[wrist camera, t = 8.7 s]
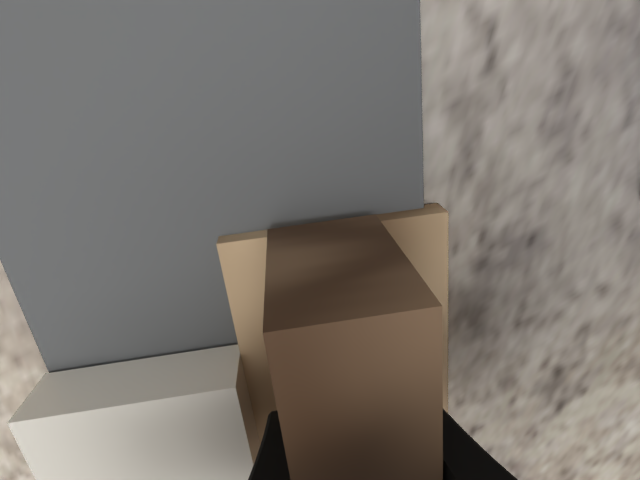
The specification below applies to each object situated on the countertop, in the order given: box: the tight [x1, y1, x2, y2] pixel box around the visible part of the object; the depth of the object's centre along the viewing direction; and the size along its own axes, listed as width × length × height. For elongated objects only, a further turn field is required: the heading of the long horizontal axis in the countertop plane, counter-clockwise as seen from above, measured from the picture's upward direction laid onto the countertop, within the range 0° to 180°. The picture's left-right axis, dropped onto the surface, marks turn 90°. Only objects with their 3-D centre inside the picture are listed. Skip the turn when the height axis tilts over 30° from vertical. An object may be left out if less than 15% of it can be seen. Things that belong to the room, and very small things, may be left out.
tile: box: [7, 344, 260, 480], centre depth 13 cm, size 6×2×6 cm
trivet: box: [216, 203, 448, 445], centre depth 14 cm, size 6×10×1 cm, turn 6°
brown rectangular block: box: [263, 214, 443, 480], centre depth 11 cm, size 3×10×5 cm, turn 6°
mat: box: [0, 0, 424, 373], centre depth 12 cm, size 12×21×1 cm, turn 6°
